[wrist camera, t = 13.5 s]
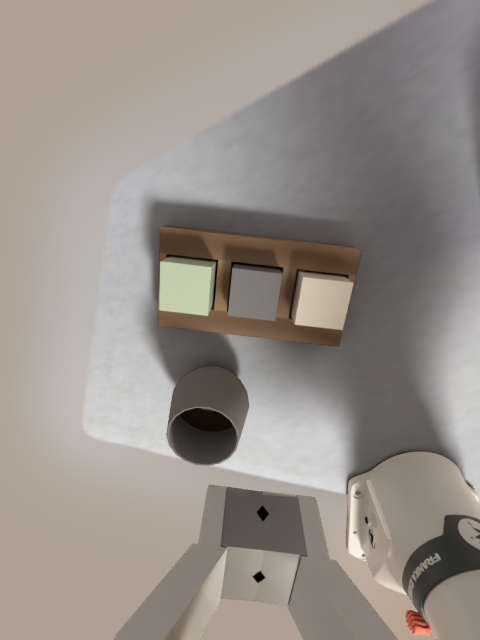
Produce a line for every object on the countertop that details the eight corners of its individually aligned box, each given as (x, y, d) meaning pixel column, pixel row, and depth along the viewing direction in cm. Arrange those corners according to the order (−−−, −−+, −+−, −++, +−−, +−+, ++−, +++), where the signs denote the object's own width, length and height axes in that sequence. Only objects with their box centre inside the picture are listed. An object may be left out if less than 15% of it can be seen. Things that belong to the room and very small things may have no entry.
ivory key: (332, 316, 36) (342, 330, 31) (289, 311, 36) (294, 324, 31) (341, 274, 34) (353, 282, 30) (297, 269, 34) (303, 277, 30)
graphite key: (272, 308, 36) (275, 321, 32) (230, 303, 36) (227, 315, 32) (278, 266, 34) (282, 273, 30) (234, 261, 34) (232, 268, 30)
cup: (173, 357, 40) (148, 402, 30) (244, 350, 39) (241, 393, 30) (186, 418, 43) (168, 475, 33) (252, 412, 42) (252, 470, 33)
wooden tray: (332, 336, 38) (338, 346, 35) (165, 317, 38) (158, 325, 35) (352, 246, 34) (361, 249, 31) (167, 225, 34) (159, 226, 31)
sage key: (213, 303, 35) (207, 315, 31) (170, 298, 35) (159, 310, 31) (216, 260, 34) (211, 267, 29) (171, 255, 34) (160, 261, 29)
